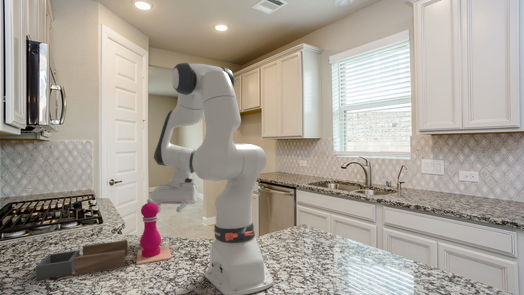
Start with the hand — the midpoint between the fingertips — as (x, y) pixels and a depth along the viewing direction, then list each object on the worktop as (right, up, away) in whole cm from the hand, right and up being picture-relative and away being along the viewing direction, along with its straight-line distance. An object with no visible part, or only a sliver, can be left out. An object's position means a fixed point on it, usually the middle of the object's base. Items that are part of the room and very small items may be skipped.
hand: (167, 211), depth 112 cm
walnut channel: (-16, -13, -18) cm, 27 cm away
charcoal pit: (-27, -14, -23) cm, 38 cm away
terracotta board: (-1, -13, -12) cm, 18 cm away
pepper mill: (-2, -13, -12) cm, 18 cm away
